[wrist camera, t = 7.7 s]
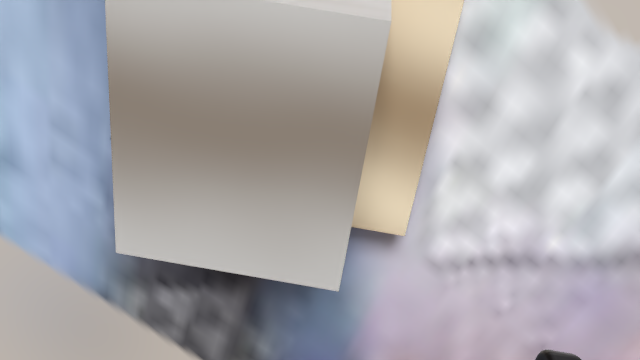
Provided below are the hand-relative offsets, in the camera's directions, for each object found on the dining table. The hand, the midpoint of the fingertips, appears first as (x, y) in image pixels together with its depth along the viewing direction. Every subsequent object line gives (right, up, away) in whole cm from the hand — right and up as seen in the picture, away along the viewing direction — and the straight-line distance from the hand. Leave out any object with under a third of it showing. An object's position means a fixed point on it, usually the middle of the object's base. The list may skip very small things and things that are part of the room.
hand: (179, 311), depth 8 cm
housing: (+1, +5, +9) cm, 10 cm away
